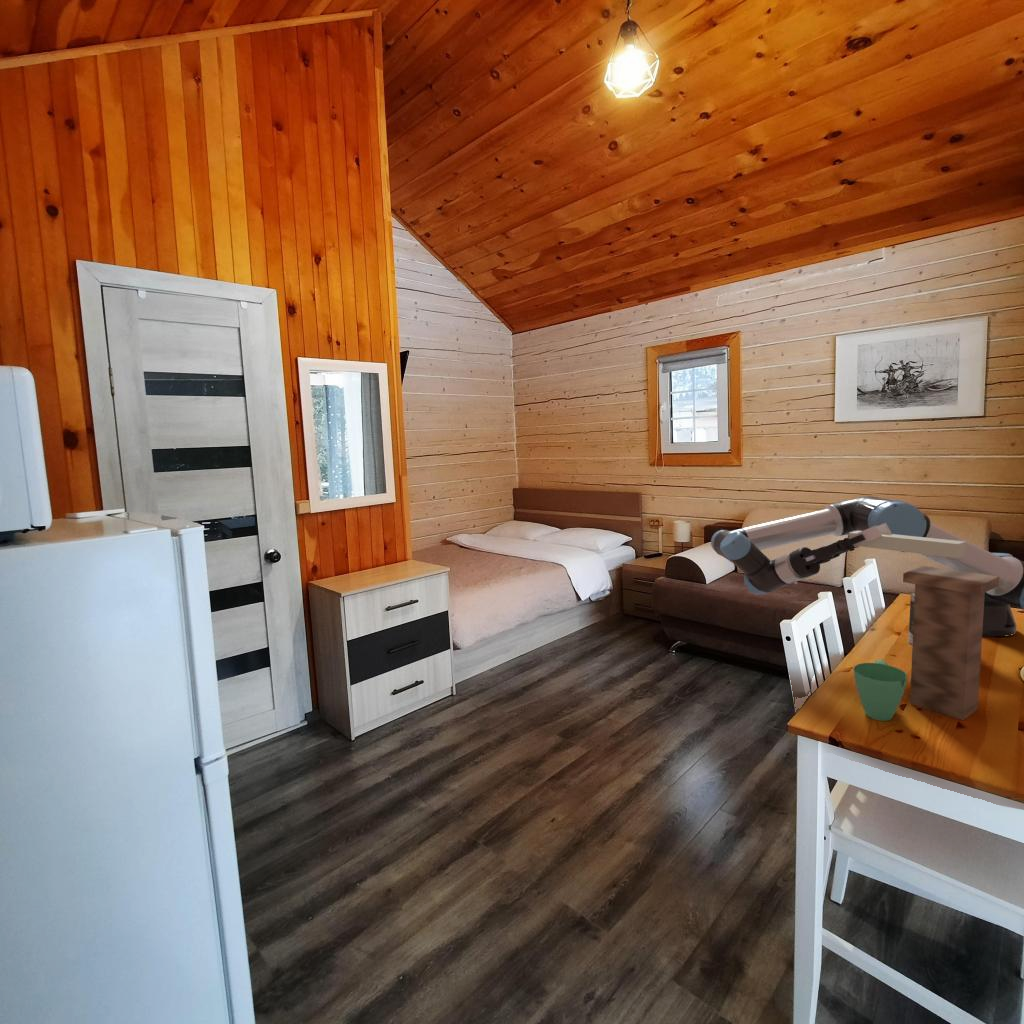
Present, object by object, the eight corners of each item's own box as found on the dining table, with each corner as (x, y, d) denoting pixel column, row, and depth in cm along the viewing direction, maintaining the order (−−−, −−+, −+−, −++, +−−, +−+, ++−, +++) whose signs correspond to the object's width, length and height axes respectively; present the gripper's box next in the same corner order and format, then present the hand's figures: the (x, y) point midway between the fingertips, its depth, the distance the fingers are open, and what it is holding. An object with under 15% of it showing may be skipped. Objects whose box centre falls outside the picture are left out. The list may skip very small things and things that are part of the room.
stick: (848, 544, 139) (848, 532, 139) (856, 542, 141) (857, 530, 141) (957, 558, 121) (958, 544, 121) (965, 555, 123) (965, 541, 123)
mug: (906, 730, 119) (908, 684, 118) (851, 720, 124) (852, 675, 123) (904, 701, 131) (906, 659, 130) (854, 693, 137) (855, 652, 135)
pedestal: (898, 701, 131) (903, 573, 127) (917, 689, 137) (923, 565, 133) (972, 725, 120) (981, 585, 116) (990, 710, 125) (999, 576, 121)
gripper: (821, 572, 156) (908, 539, 138) (786, 584, 147) (874, 549, 128) (808, 547, 158) (891, 511, 140) (773, 557, 149) (857, 519, 131)
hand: (883, 529), depth 134 cm, fingers closed on stick, 4 cm apart
